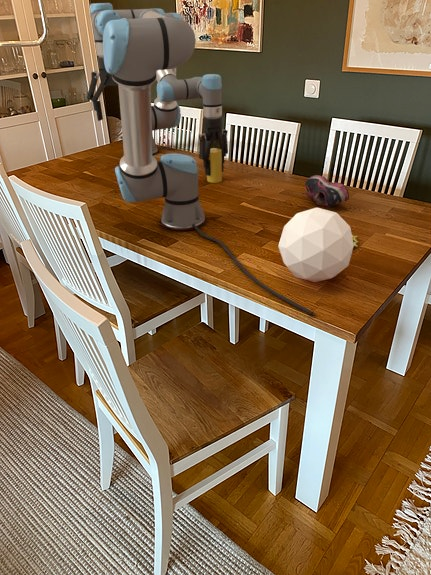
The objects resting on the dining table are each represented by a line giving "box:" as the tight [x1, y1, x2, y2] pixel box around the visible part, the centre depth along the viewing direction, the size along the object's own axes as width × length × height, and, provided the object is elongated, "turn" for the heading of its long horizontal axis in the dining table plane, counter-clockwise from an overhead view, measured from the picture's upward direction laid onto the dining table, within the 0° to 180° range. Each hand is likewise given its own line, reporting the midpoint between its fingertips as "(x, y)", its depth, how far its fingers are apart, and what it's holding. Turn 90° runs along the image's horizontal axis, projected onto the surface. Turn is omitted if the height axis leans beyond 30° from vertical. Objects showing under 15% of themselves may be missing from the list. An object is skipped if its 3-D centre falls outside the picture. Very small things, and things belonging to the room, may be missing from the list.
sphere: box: [277, 207, 355, 283], centre depth 118 cm, size 19×20×20 cm
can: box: [206, 147, 223, 184], centre depth 189 cm, size 6×6×13 cm
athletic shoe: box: [302, 174, 350, 208], centre depth 165 cm, size 11×22×12 cm
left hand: (214, 172), depth 191 cm, fingers closed on can, 6 cm apart
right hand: (117, 120), depth 164 cm, fingers open, 13 cm apart
